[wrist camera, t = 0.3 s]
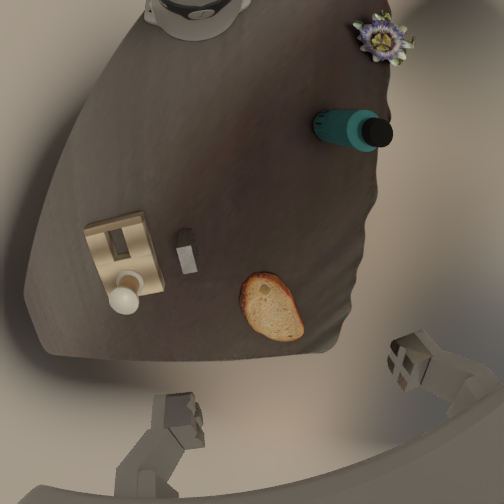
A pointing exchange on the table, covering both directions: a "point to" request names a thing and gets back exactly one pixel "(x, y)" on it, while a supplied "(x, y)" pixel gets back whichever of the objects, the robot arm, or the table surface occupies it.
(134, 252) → the slot board
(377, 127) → the beverage bottle
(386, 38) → the passion flower
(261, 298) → the slice of bread
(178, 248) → the metal tab
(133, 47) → the table surface
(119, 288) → the bobbin
